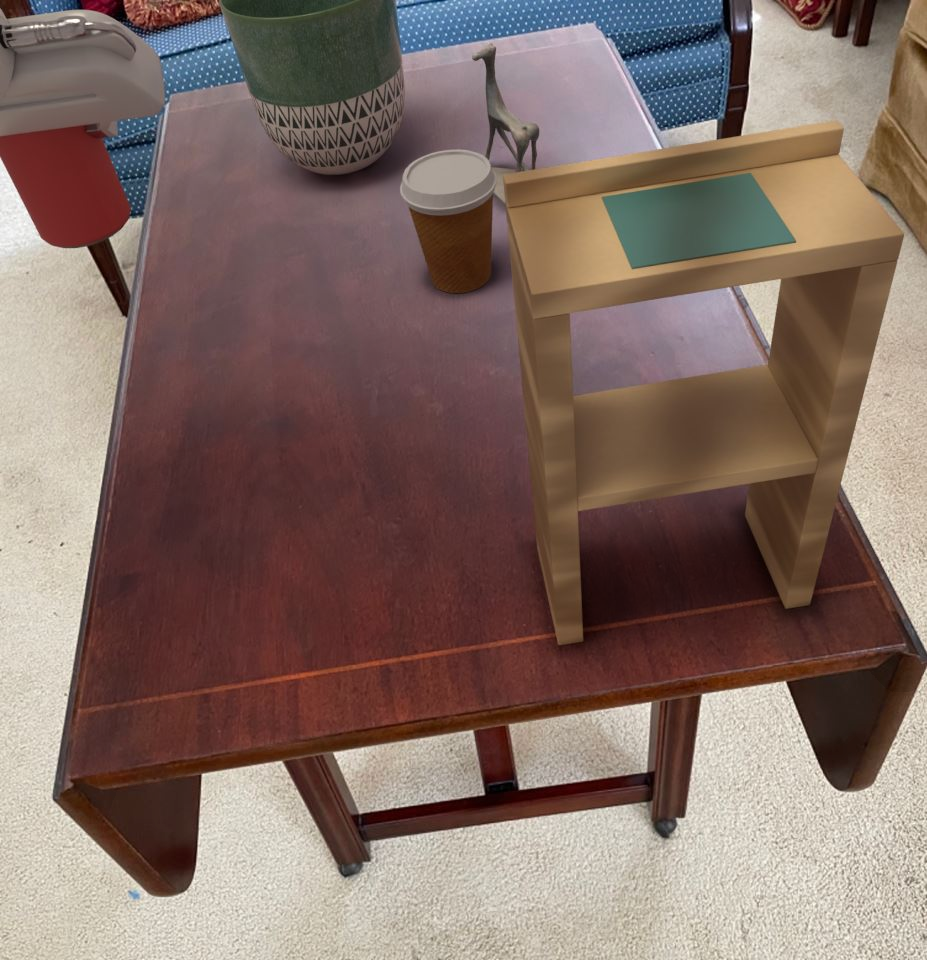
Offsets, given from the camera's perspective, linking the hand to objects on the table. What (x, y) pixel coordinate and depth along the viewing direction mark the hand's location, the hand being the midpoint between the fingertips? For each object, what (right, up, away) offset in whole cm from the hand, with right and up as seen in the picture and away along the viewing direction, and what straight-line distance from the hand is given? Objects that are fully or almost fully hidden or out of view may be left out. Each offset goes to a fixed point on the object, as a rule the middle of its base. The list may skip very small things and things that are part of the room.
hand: (50, 134), depth 63 cm
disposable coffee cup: (+28, -2, +36) cm, 45 cm away
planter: (+13, +17, +56) cm, 60 cm away
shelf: (+43, -30, +6) cm, 53 cm away
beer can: (+1, -5, +5) cm, 7 cm away
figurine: (+34, +12, +48) cm, 60 cm away
